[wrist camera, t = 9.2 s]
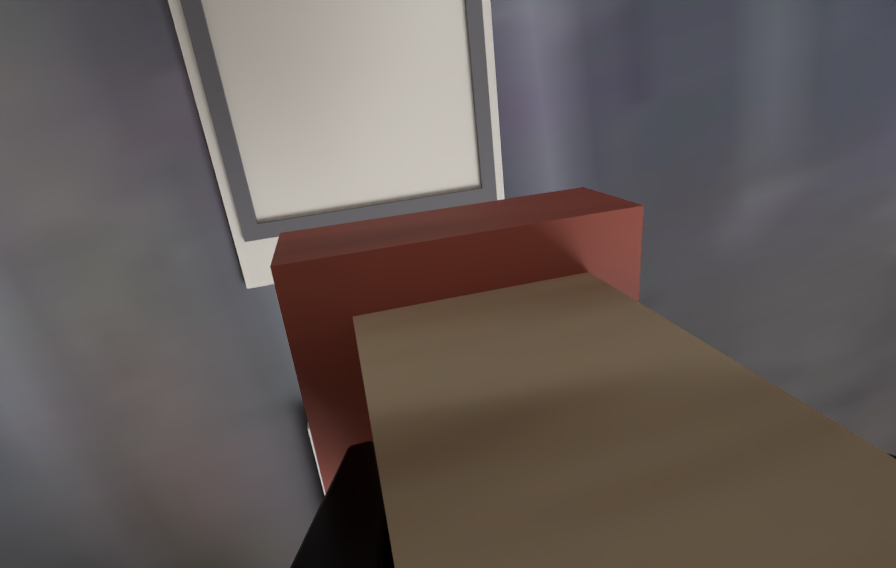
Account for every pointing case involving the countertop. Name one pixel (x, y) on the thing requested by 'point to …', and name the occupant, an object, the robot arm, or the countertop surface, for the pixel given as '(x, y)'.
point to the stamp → (559, 401)
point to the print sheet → (341, 111)
